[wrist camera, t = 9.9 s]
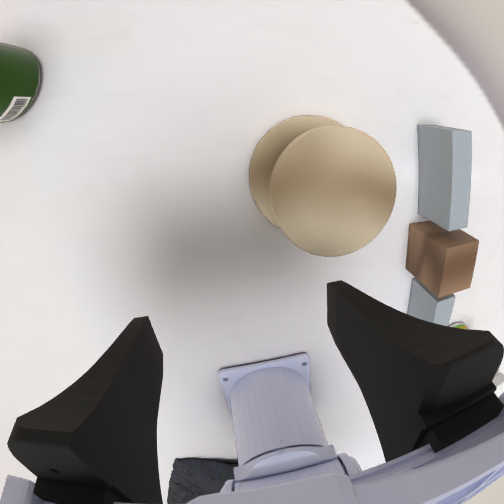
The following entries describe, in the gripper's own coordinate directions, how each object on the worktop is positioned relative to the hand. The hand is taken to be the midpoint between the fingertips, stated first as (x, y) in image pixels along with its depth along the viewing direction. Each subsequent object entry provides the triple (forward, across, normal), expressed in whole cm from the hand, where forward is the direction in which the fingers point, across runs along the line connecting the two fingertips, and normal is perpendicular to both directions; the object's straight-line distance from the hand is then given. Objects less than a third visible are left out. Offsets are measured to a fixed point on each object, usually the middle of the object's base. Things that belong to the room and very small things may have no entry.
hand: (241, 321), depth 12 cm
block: (+10, -16, +4) cm, 19 cm away
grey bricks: (+10, -16, +4) cm, 19 cm away
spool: (+10, -6, -3) cm, 12 cm away
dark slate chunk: (+11, +9, +39) cm, 42 cm away
